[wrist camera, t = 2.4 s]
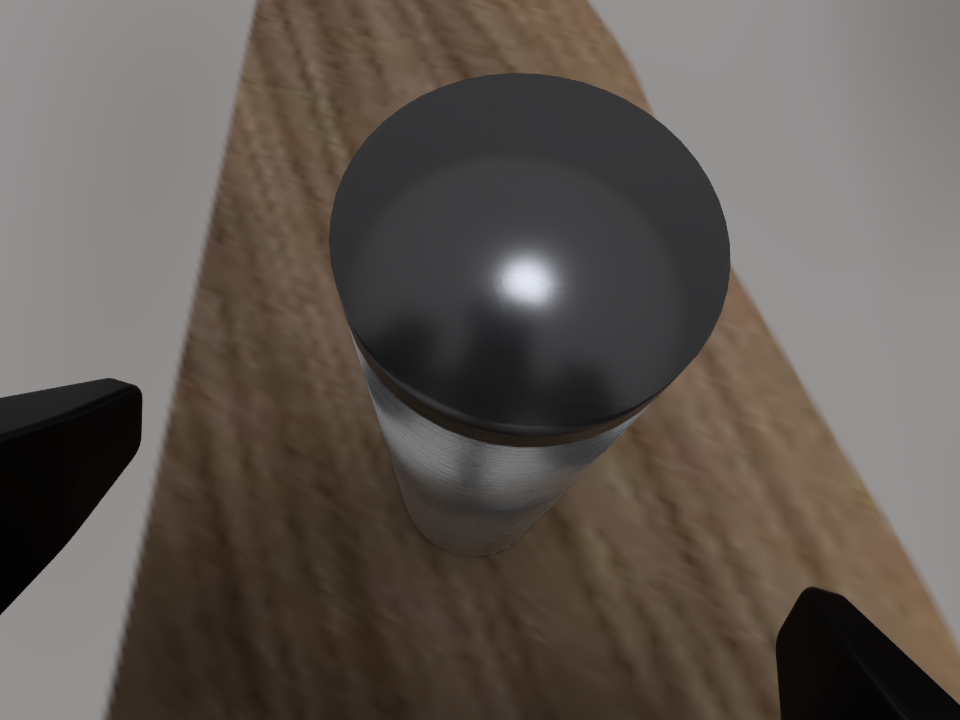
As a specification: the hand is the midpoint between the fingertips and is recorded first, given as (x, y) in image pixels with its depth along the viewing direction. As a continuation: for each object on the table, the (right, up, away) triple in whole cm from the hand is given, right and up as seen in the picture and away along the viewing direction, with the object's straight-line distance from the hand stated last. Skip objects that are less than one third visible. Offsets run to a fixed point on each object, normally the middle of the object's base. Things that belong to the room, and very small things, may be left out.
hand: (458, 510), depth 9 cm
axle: (0, -1, +10) cm, 10 cm away
